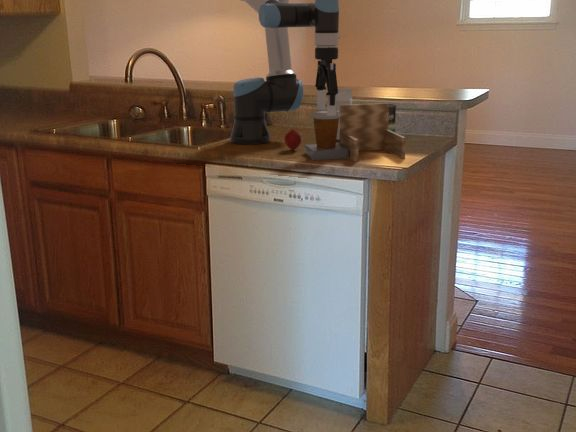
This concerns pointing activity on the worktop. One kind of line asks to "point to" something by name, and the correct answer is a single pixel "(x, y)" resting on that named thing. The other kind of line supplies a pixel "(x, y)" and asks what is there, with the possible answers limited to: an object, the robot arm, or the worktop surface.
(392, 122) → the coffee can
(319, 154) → the trivet
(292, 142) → the onion
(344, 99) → the milk carton
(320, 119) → the disposable coffee cup
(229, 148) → the worktop surface
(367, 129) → the brown patterned armchair
